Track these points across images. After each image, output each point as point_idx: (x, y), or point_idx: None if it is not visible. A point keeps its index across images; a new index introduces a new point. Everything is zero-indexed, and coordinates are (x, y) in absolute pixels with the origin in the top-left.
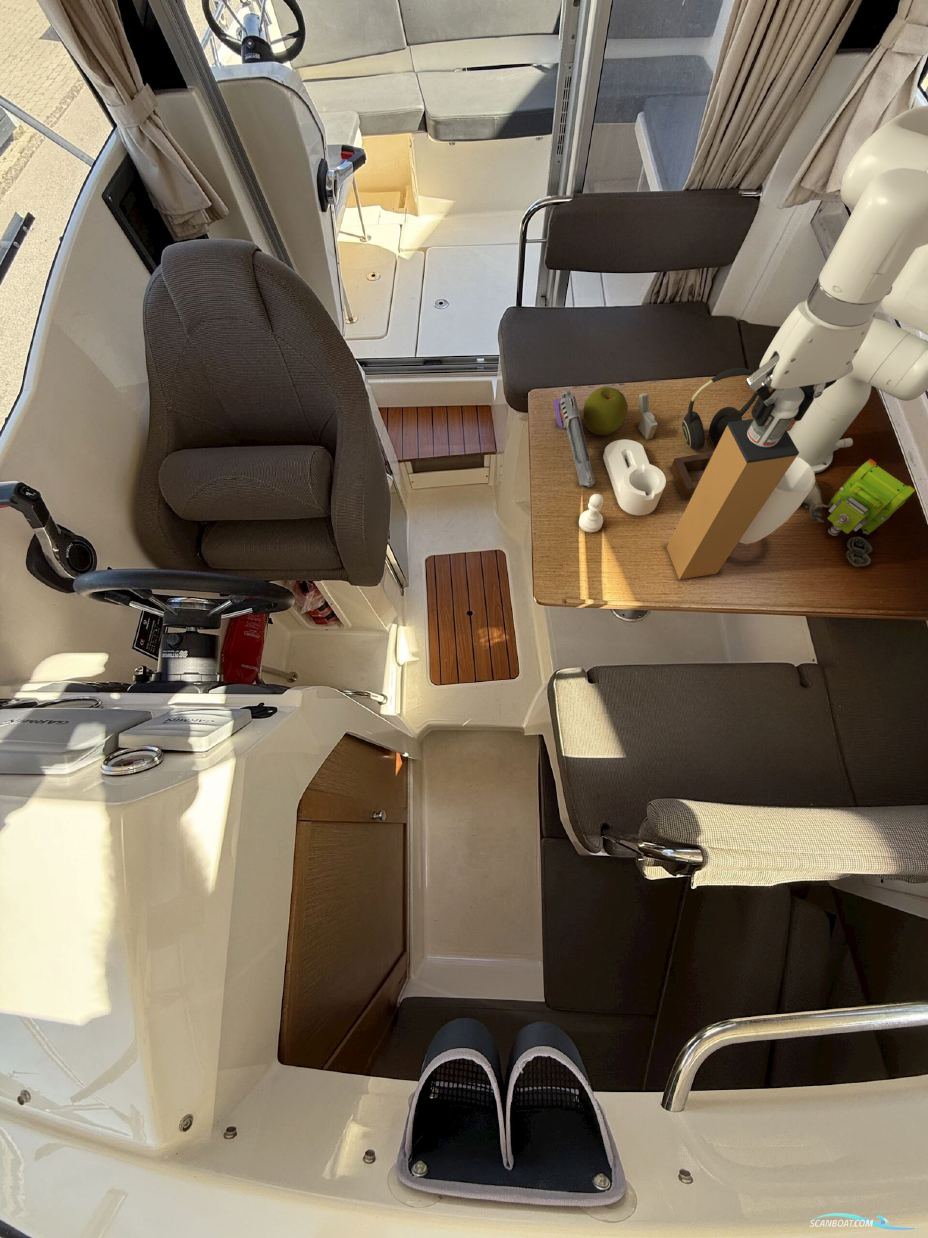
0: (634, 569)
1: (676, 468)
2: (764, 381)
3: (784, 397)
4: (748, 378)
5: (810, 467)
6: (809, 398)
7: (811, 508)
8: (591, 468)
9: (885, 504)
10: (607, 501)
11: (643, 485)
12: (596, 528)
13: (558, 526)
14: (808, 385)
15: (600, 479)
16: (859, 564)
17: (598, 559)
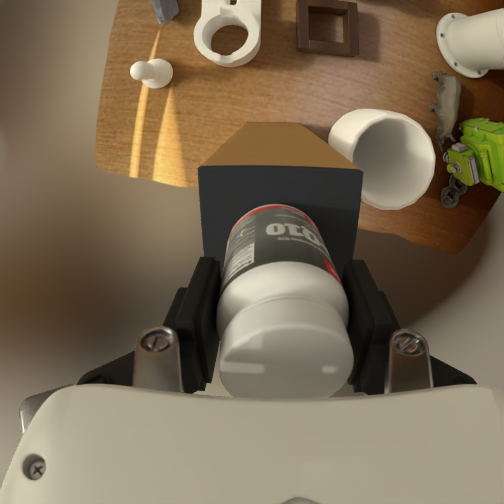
0: (196, 147)
1: (297, 10)
2: (134, 375)
3: (245, 394)
4: (21, 417)
5: (433, 164)
6: (358, 385)
7: (439, 129)
8: (165, 3)
9: (495, 184)
10: (190, 40)
11: (242, 25)
12: (158, 87)
13: (120, 77)
14: (381, 372)
15: (191, 7)
16: (446, 203)
17: (156, 128)
